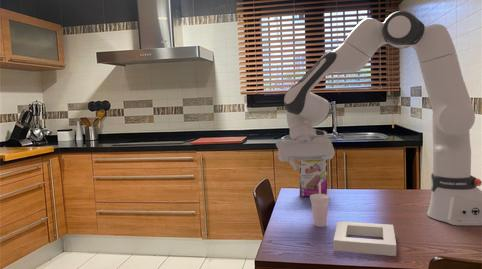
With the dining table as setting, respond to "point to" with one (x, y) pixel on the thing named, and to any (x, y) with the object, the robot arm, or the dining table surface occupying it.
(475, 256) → the dining table surface
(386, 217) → the dining table surface
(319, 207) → the smoothie
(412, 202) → the dining table surface
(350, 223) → the beige square frame
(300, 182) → the candy bar box
